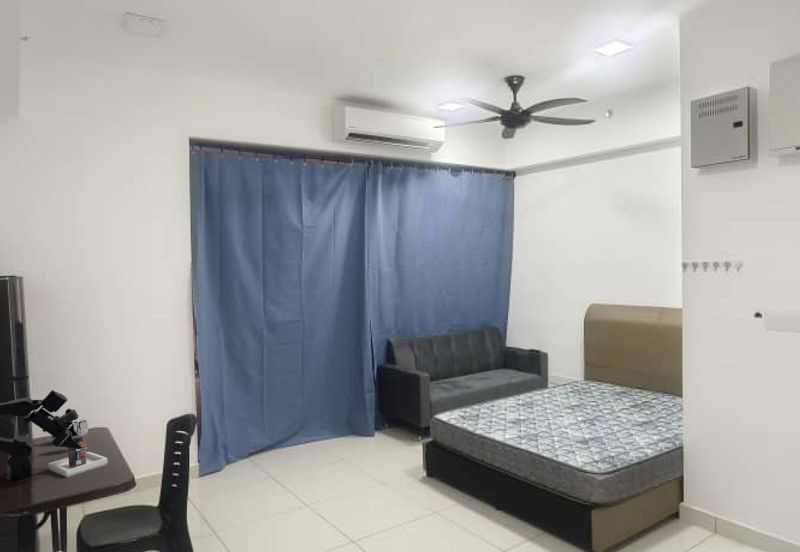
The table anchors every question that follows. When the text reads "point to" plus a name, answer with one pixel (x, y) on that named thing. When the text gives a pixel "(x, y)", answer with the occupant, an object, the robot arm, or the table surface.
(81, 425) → the wineglass
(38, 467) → the table surface
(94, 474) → the table surface
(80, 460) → the supplement bottle
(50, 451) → the table surface
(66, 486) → the table surface
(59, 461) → the tray
